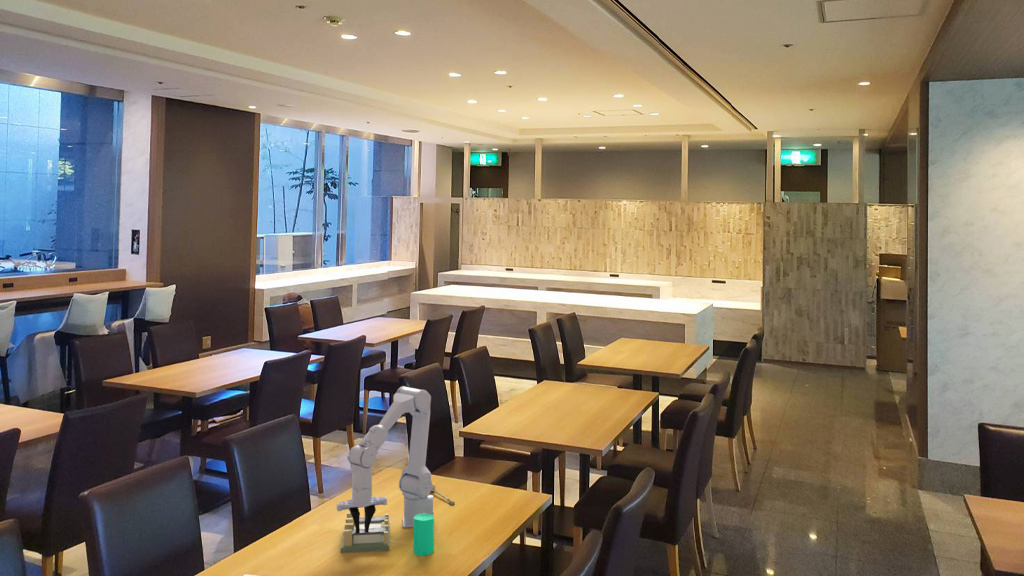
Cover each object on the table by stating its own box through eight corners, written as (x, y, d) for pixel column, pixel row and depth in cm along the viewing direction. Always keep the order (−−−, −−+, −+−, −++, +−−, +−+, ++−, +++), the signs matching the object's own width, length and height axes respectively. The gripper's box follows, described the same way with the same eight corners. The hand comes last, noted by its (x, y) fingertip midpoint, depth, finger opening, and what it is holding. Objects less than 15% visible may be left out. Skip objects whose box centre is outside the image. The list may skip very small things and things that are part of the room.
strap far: (388, 518, 235) (387, 515, 235) (387, 521, 232) (387, 519, 232) (350, 520, 233) (350, 518, 233) (350, 524, 230) (350, 521, 230)
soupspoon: (428, 488, 278) (413, 492, 274) (428, 479, 277) (412, 483, 274) (460, 504, 260) (444, 508, 256) (460, 494, 260) (443, 499, 256)
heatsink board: (390, 527, 238) (390, 509, 237) (389, 550, 221) (389, 530, 220) (344, 529, 236) (344, 511, 235) (340, 552, 219) (340, 532, 218)
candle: (425, 557, 216) (425, 517, 215) (409, 552, 219) (409, 512, 219) (438, 550, 221) (438, 510, 220) (422, 545, 225) (422, 506, 224)
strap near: (387, 529, 226) (387, 526, 226) (387, 533, 223) (387, 530, 223) (348, 531, 224) (348, 529, 224) (348, 535, 221) (348, 533, 221)
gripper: (382, 479, 229) (382, 522, 230) (334, 484, 223) (334, 529, 224) (388, 486, 222) (388, 531, 223) (339, 492, 217) (339, 538, 218)
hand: (362, 530), depth 223 cm, fingers closed on strap near, 2 cm apart
